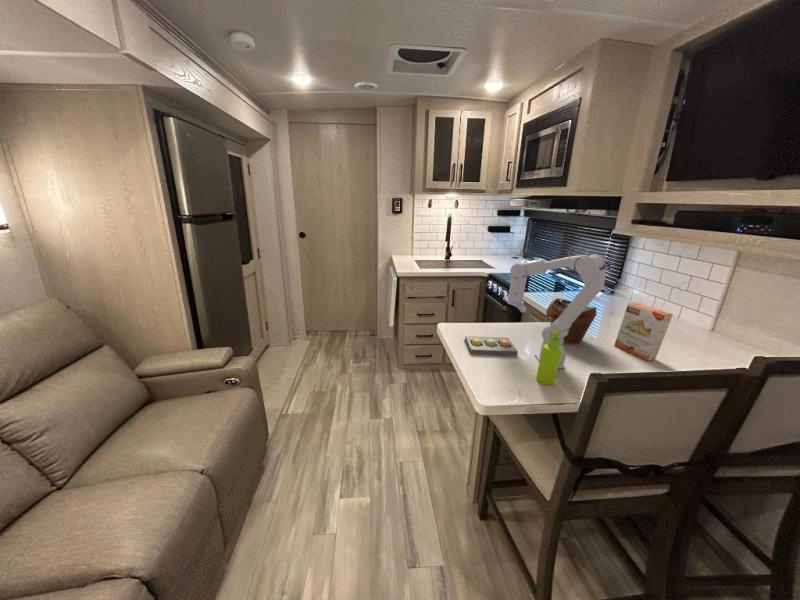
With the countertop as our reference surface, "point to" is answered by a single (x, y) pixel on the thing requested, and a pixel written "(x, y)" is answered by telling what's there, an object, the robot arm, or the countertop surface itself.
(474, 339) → the button
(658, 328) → the cracker box
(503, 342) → the button
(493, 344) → the button mid
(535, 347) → the countertop surface
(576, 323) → the brown basket
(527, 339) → the countertop surface
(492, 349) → the panel
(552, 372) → the soap dispenser
